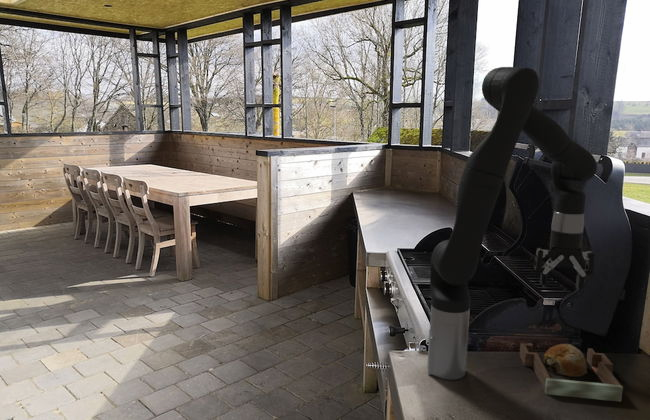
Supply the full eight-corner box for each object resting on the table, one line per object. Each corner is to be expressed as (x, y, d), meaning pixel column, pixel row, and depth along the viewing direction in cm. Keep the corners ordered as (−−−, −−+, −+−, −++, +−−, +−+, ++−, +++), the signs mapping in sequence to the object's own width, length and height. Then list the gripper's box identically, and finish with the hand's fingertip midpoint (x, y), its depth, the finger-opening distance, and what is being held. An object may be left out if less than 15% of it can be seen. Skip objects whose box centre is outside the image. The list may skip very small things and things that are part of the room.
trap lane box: (536, 393, 113) (538, 379, 112) (519, 354, 132) (520, 342, 131) (630, 402, 109) (632, 388, 109) (598, 361, 128) (600, 349, 127)
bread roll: (582, 393, 120) (600, 367, 118) (543, 372, 121) (561, 346, 119) (570, 373, 129) (587, 349, 127) (535, 354, 130) (551, 330, 128)
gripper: (541, 230, 125) (536, 290, 128) (601, 233, 123) (594, 294, 126) (535, 224, 133) (530, 281, 136) (591, 227, 130) (585, 285, 133)
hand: (561, 287), depth 131 cm, fingers open, 8 cm apart
